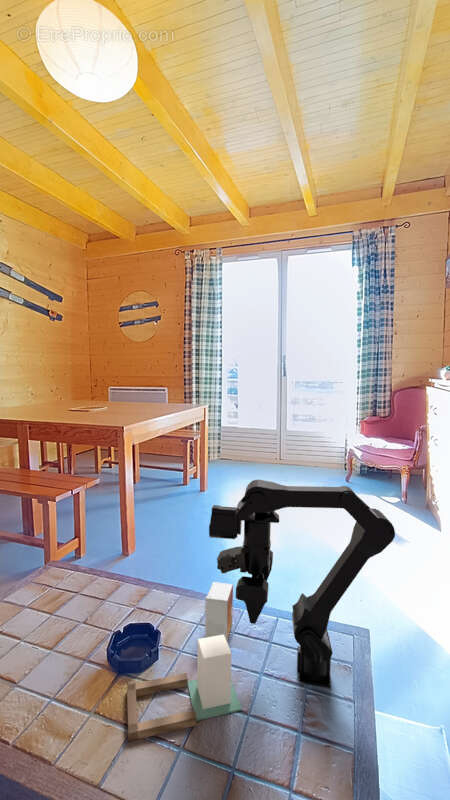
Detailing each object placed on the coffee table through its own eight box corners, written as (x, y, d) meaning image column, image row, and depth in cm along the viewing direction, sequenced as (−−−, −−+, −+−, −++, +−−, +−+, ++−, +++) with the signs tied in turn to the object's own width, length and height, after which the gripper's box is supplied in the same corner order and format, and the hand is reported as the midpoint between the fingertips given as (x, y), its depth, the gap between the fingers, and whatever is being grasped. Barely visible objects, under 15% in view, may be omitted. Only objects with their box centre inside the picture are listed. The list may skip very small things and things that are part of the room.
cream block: (222, 681, 77) (223, 634, 76) (230, 703, 72) (231, 653, 71) (197, 686, 75) (197, 638, 75) (202, 709, 70) (203, 658, 70)
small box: (226, 644, 88) (227, 601, 88) (204, 640, 90) (205, 598, 89) (232, 623, 96) (233, 583, 96) (212, 620, 97) (212, 581, 97)
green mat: (228, 674, 79) (228, 673, 79) (241, 710, 70) (241, 708, 70) (187, 683, 77) (187, 681, 77) (195, 721, 68) (195, 719, 68)
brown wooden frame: (186, 679, 77) (186, 673, 77) (196, 725, 67) (196, 717, 67) (127, 691, 74) (127, 684, 74) (128, 741, 64) (128, 733, 64)
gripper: (228, 521, 91) (227, 583, 91) (211, 555, 72) (209, 632, 73) (273, 525, 89) (272, 588, 89) (267, 561, 70) (265, 640, 71)
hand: (255, 609), depth 81 cm, fingers open, 9 cm apart
